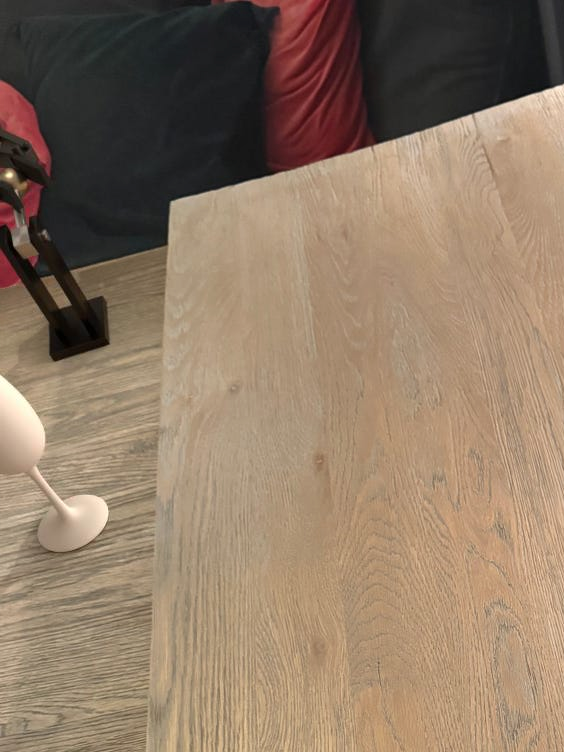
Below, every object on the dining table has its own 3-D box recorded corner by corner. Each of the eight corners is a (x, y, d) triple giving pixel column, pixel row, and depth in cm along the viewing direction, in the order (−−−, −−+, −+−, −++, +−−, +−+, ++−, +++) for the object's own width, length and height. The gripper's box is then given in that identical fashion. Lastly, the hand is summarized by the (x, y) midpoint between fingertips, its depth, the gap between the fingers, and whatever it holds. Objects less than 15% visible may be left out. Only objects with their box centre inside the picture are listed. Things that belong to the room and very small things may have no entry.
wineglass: (24, 536, 111) (-94, 402, 94) (77, 486, 114) (-28, 348, 97) (70, 563, 108) (-44, 429, 90) (123, 511, 111) (23, 372, 93)
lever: (5, 187, 126) (-10, 166, 122) (31, 179, 126) (17, 157, 122) (20, 264, 122) (5, 245, 118) (47, 256, 122) (32, 236, 118)
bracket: (53, 318, 135) (-13, 218, 122) (106, 302, 135) (47, 199, 122) (53, 361, 129) (-15, 261, 116) (109, 344, 129) (47, 241, 116)
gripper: (5, 139, 137) (98, 179, 126) (-94, 204, 131) (-7, 251, 120) (-26, 86, 130) (68, 124, 120) (-132, 151, 125) (-43, 197, 114)
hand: (31, 188), depth 120 cm, fingers closed on lever, 4 cm apart
